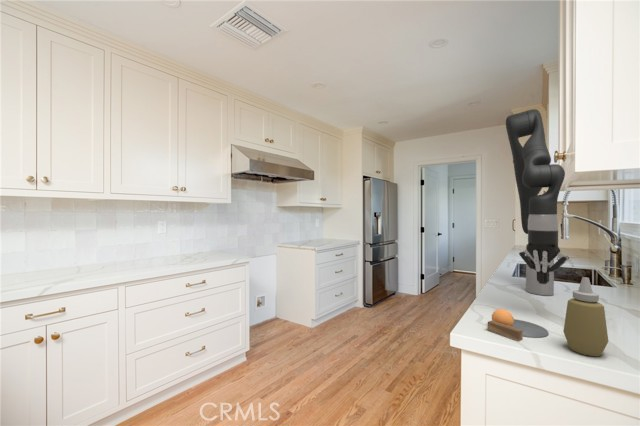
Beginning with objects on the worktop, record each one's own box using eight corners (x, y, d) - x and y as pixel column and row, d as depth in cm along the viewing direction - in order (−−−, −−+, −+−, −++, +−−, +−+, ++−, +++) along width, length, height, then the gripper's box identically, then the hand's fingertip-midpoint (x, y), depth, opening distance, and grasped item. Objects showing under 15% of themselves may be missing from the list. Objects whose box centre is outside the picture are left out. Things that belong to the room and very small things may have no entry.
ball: (499, 310, 88) (489, 305, 86) (519, 314, 83) (508, 308, 81) (496, 328, 86) (486, 323, 84) (516, 333, 81) (505, 328, 79)
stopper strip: (491, 329, 83) (491, 320, 83) (522, 339, 76) (522, 330, 76) (487, 330, 82) (487, 321, 82) (518, 341, 75) (518, 331, 75)
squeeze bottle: (616, 362, 65) (617, 283, 65) (572, 356, 68) (572, 280, 68) (596, 346, 72) (597, 275, 72) (557, 341, 75) (558, 273, 75)
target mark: (507, 316, 93) (507, 315, 93) (556, 330, 82) (556, 330, 82) (485, 324, 86) (485, 324, 86) (536, 341, 75) (536, 341, 75)
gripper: (574, 229, 86) (574, 286, 87) (524, 227, 98) (524, 277, 98) (564, 230, 82) (564, 290, 83) (513, 228, 94) (513, 281, 94)
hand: (542, 283), depth 90 cm, fingers closed
